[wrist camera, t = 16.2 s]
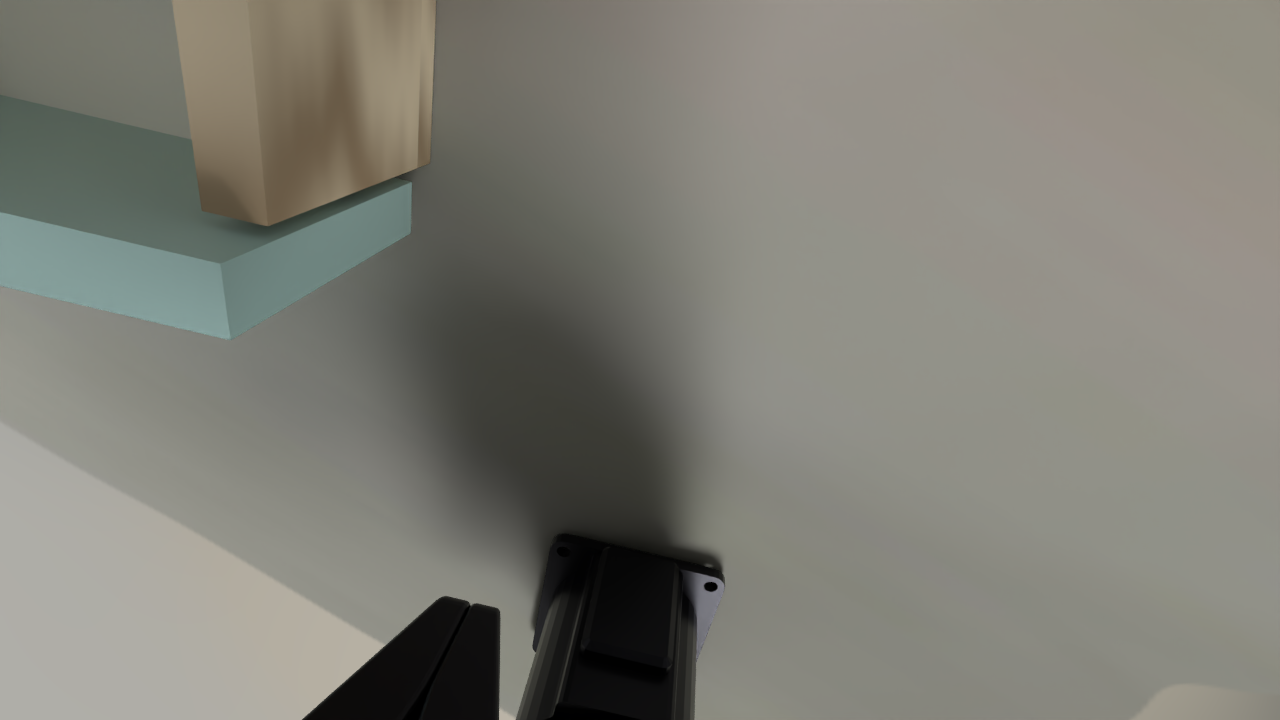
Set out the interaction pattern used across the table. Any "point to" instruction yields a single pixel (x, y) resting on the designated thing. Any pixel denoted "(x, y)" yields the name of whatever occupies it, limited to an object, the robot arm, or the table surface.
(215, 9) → the housing
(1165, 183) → the table surface
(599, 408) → the table surface
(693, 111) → the table surface
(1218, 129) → the table surface
